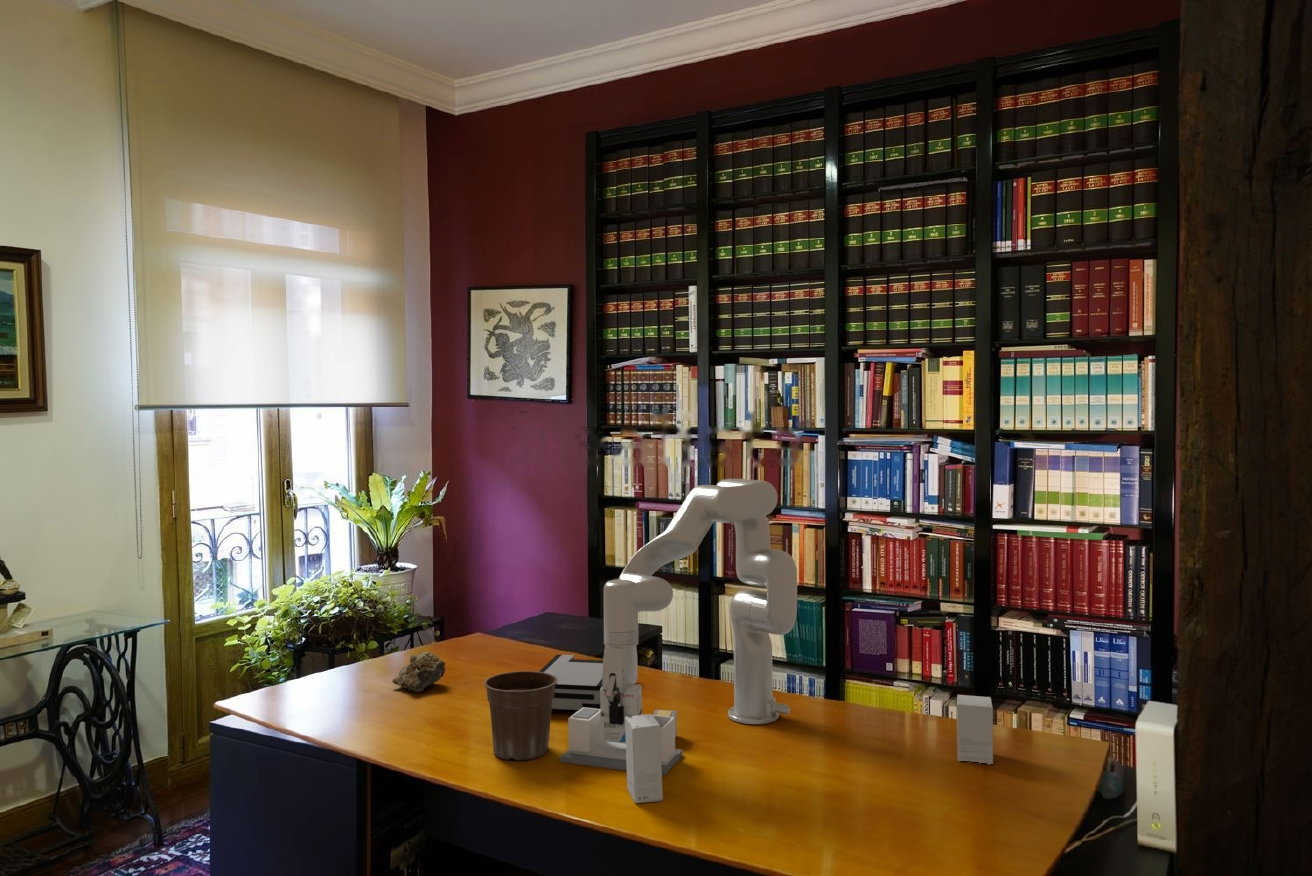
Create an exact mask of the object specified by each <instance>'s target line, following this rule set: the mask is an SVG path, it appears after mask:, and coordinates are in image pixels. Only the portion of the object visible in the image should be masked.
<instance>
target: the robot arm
mask: <svg viewBox="0 0 1312 876" xmlns="http://www.w3.org/2000/svg"><path fill="white" fill-rule="evenodd" d="M777 504H778V493H777V489H776V488H775V487H774V485H773V484H772V483H770V482H769V481H765V480H760V479H758V480H757V479H746V478H745V479H744V478H726V479H721V480H720V481H718V482H717V483H716V485H714V484H701V485H696V486H695V487H694V488H692V489H691V490H690V492H689V493H688V494H687V496H686V497H685V498H684V501H683V502H682V504H680V507H679V508H678V510H677V512H675V515H674V516H673V517H672V519H671V520H670V522H669V523H668V525H667V527H666V528H665V530H664V531H662V532H661V534H659V535H658V536H656V537H654V538H653V539H652V540H650V541H649V542H647V543H646V544H644V546H642V547H641V548H640V549H638V551H636V552H635V553H634V554H633V555H632V556H631V558H630V559H629V561H628V562H627V564H626V565H625V567H624V568H623V569H622V572H621V573H620V575H619V577H618V579H613V580H608V581H606V583H605V584H604V586H603V645H604V653H603V659H602V660H603V677H602V689H603V691H604V692H606V691H607V692H606V697H607V699H608V701H609V703H608V705H609V723H610V724H618V725H623V724H624V706H622V701H623V692H625V691H626V690H627V689H628V688H629V687H631V686H632V685H634V684H636V683H637V682H638V672H639V671H638V652H637V651H638V650H637V645H639V613H640V612H659V611H663V610H664V609H666V608H667V607H668V606H670V604H671V603H672V601H673V597H674V591H673V587H672V585H671V584H670V582H668V581H667V580H666V579H664V578H661V577H659V576H653V575H654V574H655V572H657V571H658V570H659V569H660V568H661V567H663V566H665V565H666V564H669V563H671V562H674V561H677V560H680V559H684V558H686V557H688V556H690V555H692V554H694V553H695V552H696V551H697V550H698V548H699V546H700V544H701V543H702V542H703V539H704V537H706V535H707V533H708V531H709V530H710V528H711V527H712V525H713V524H714V523H715V522H716V523H723V524H724V523H725V524H733V525H734V528H735V529H734V530H735V571H736V572H735V573H736V576H737V578H738V580H739V581H740V582H742V583H744V584H746V585H750V586H751V585H752V586H755V587H759V588H766V591H762V590H758V589H749V588H747V589H742V590H739V591H738V592H736V593H735V594H734V595H733V596H732V598H731V600H730V603H729V617H730V621H731V626H732V633H733V635H732V636H733V696H734V697H733V702H734V703H733V706H732V707H730V708H729V709H728V710H727V717H728V718H729V719H730V720H731V721H734V722H736V723H739V724H740V723H741V724H746V725H764V724H771V723H774V722H775V721H777V720H778V719H779V717H780V716H779V715H780V714H781V715H790V712H791V711H790V710H791V707H790V706H788V705H787V703H778V702H777V701H776V696H773V644H772V639H771V636H770V635H771V634H772V635H776V636H784V635H786V634H788V633H790V632H791V631H792V630H793V628H794V627H795V624H796V621H797V620H796V619H797V616H798V615H797V613H798V569H797V565H796V562H795V560H794V557H792V555H791V554H790V553H788V552H786V551H784V550H780V549H774V548H772V546H771V530H770V529H771V528H770V523H769V520H768V518H767V515H770V514H771V513H773V511H774V509H775V508H776V507H777ZM615 688H617V689H619V691H615ZM614 694H619V699H618V698H617V696H615V695H614Z"/></svg>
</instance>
